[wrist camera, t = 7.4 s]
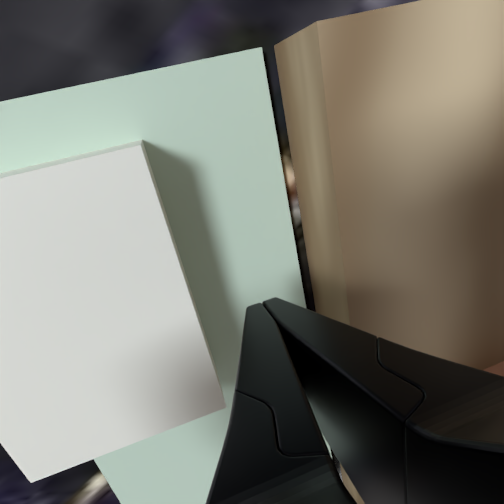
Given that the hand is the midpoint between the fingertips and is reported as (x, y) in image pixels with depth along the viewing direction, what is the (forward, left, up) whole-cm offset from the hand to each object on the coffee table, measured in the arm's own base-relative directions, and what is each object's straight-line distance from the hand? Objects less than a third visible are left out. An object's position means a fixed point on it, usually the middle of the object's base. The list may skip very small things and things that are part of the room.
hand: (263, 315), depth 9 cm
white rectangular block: (+5, 0, -2) cm, 5 cm away
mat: (+3, +4, -4) cm, 6 cm away
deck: (-9, +5, -4) cm, 11 cm away
